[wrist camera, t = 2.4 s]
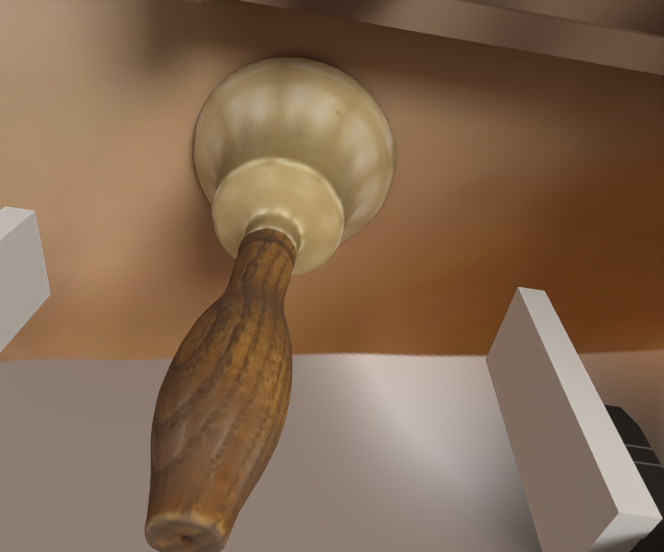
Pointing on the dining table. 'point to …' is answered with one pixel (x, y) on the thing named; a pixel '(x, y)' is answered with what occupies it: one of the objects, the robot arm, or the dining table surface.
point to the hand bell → (258, 279)
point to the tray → (520, 25)
